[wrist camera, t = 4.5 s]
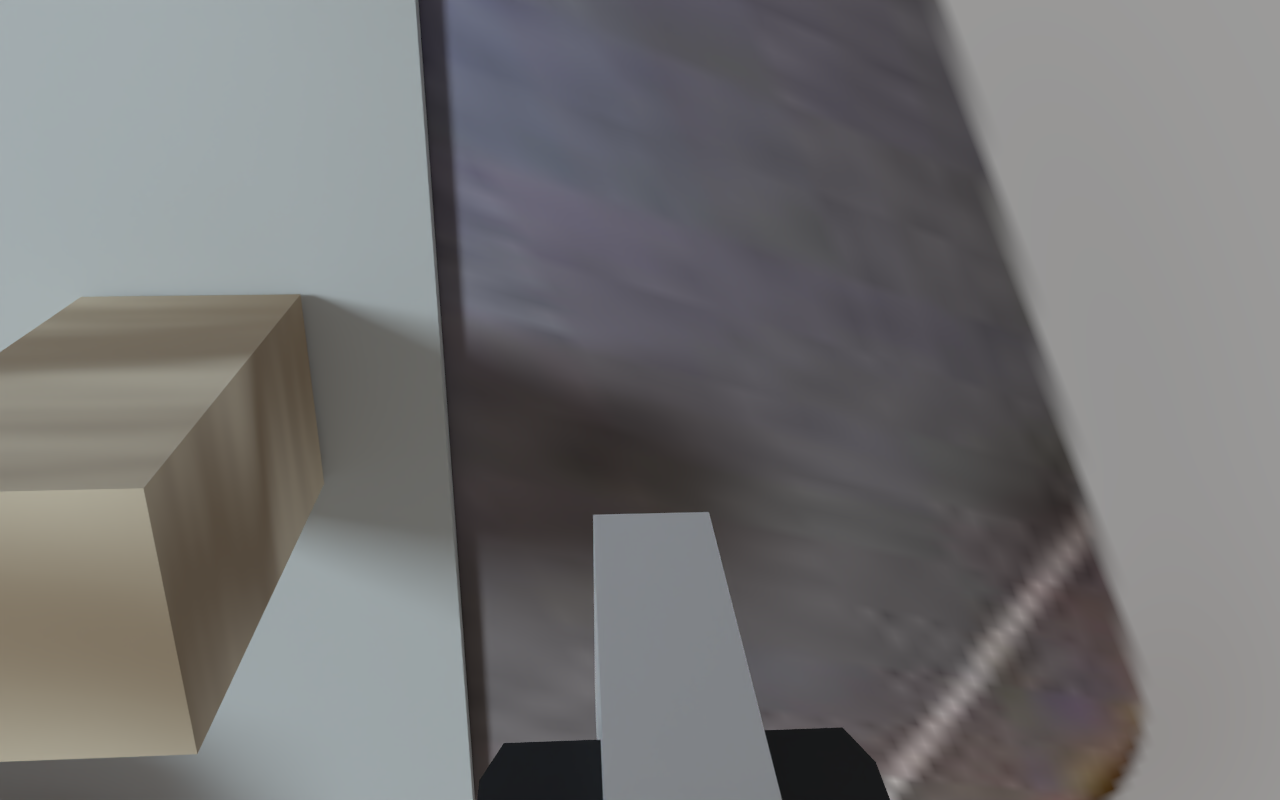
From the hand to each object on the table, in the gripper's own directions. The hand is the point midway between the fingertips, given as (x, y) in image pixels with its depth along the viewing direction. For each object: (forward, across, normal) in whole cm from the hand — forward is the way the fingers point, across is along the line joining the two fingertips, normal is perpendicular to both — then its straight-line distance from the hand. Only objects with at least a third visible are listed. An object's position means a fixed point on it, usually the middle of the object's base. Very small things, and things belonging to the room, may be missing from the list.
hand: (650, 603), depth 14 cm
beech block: (+8, -8, 0) cm, 11 cm away
